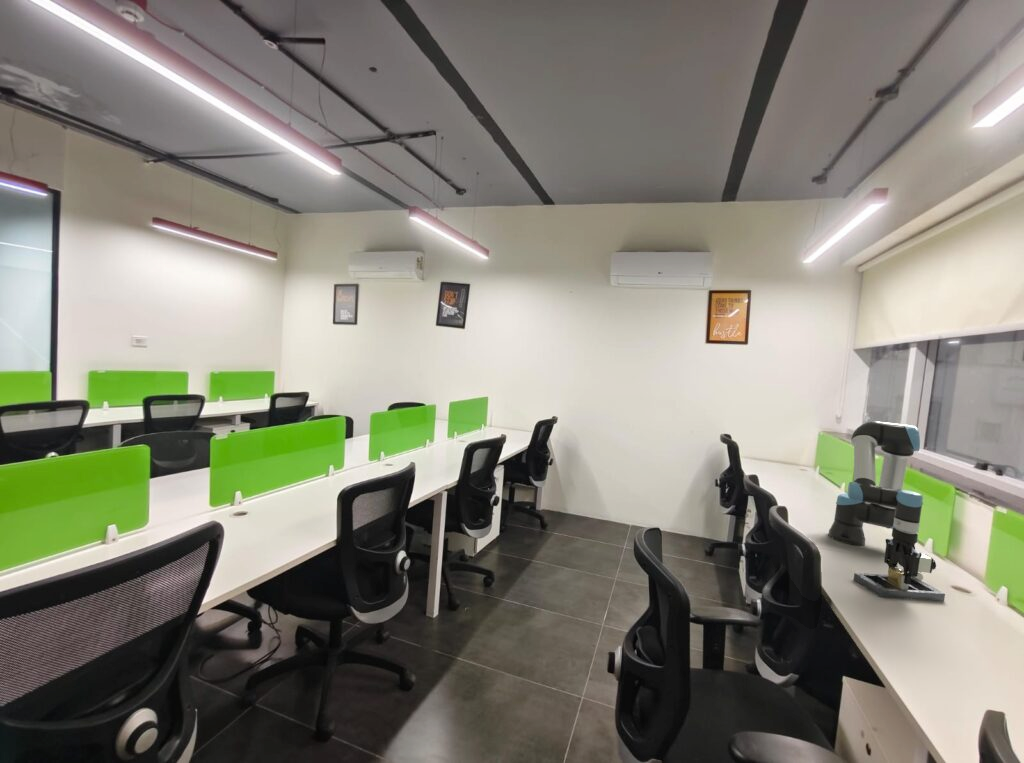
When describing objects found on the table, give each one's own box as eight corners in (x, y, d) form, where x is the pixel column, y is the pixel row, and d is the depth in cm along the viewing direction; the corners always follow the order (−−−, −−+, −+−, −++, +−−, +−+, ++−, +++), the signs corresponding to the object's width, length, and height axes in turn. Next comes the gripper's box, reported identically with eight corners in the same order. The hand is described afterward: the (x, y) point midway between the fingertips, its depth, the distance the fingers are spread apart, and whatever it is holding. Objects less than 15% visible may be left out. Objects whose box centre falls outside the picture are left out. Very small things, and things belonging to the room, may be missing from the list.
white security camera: (933, 584, 181) (937, 556, 180) (901, 580, 183) (905, 552, 182) (924, 578, 186) (927, 551, 185) (892, 573, 188) (896, 546, 188)
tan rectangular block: (897, 585, 176) (900, 567, 175) (907, 591, 171) (910, 572, 171) (886, 584, 176) (889, 566, 175) (896, 590, 171) (899, 571, 171)
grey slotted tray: (853, 579, 180) (854, 572, 180) (912, 583, 180) (913, 576, 180) (880, 597, 167) (881, 589, 167) (944, 601, 167) (945, 593, 167)
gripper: (877, 521, 181) (870, 575, 182) (916, 539, 163) (908, 598, 165) (894, 522, 181) (887, 576, 182) (936, 540, 163) (928, 600, 165)
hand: (897, 586), depth 173 cm, fingers closed on tan rectangular block, 4 cm apart
